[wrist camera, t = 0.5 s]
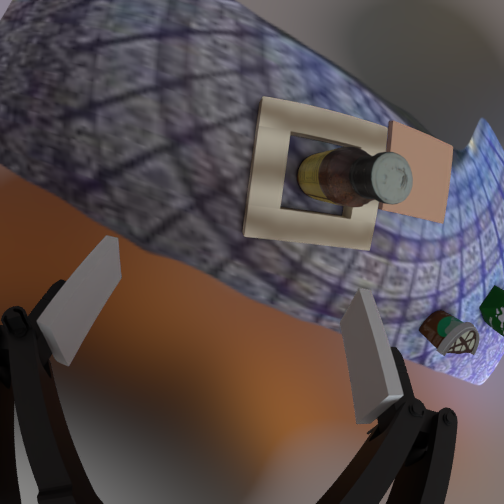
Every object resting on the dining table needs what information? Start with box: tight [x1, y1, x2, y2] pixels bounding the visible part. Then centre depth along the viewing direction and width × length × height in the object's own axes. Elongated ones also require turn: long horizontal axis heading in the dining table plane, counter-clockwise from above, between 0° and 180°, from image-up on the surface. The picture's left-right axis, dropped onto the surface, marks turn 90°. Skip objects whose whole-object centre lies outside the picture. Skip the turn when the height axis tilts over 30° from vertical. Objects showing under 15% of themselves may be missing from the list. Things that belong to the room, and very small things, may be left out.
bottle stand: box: [242, 96, 388, 250], centre depth 36 cm, size 18×18×3 cm
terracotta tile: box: [378, 121, 453, 224], centre depth 39 cm, size 14×14×1 cm
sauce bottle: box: [297, 146, 413, 207], centre depth 28 cm, size 6×6×20 cm
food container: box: [419, 310, 479, 356], centre depth 43 cm, size 12×6×10 cm, turn 75°
